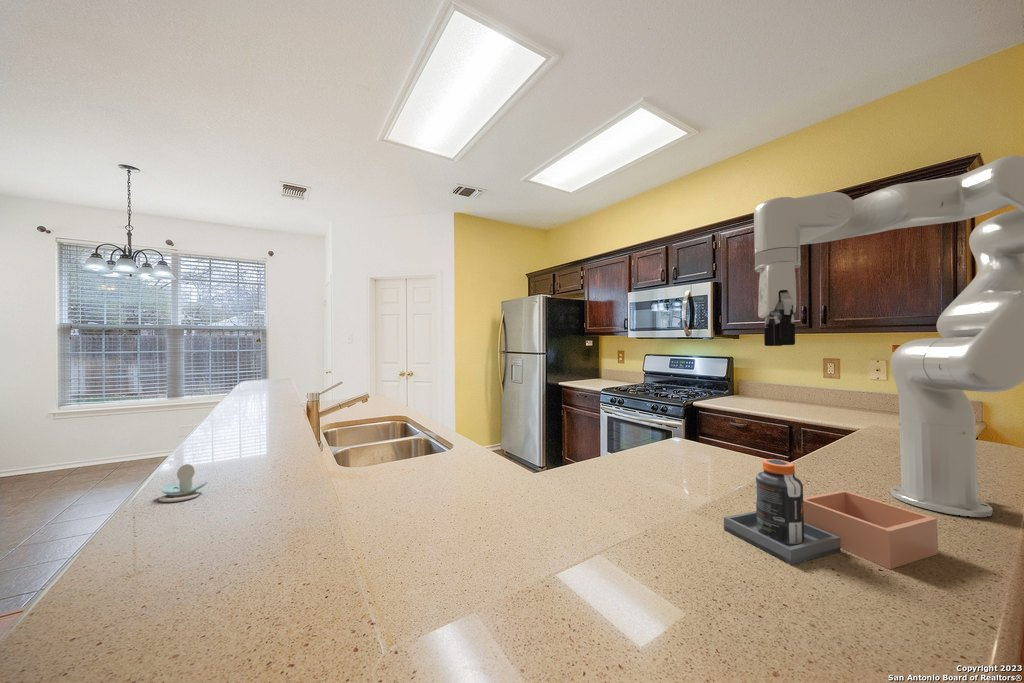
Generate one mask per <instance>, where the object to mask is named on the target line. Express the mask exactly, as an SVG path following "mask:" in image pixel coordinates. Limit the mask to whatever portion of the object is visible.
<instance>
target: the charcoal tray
mask: <svg viewBox="0 0 1024 683" xmlns="http://www.w3.org/2000/svg"><path fill="white" fill-rule="evenodd" d="M723 530H724V531H726V532H728V533H729V532H730V533H729V534H732V535H733V536H735V537H737V538H738V539H741V540H743V541H745V542H747V543H749V544H751V545H752V546H754V547H756V548H758V549H760V550H762V551H763V552H766V553H767V554H769V555H771V556H773V557H775V558H777V559H779V560H780V561H782V562H785V563H786V564H788V565H791V566H792V565H797V564H800V563H804V562H808V561H810V560H814V559H818V558H822V557H825V556H830V555H832V554H837V553H840V552H841V551H842V550H841V549H842V548H841V545H840V537H838V536H836V535H833V534H831V533H828V532H826V531H823V530H821V529H819V528H816V527H814V526H811V525H809V524H806V523H804V541H803V542H802V543H800V544H785V543H780V542H778V541H776V540H773V539H771V538H769V537H767V536H765V535H763V534H761V533H759V532H758V530H757V514H756V510H754V511H749V512H743V513H739V514H733V515H728V516H724V517H723Z"/></svg>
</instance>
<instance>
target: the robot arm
mask: <svg viewBox="0 0 1024 683" xmlns="http://www.w3.org/2000/svg"><path fill="white" fill-rule="evenodd" d="M1011 206H1013V207H1015V209H1012V210H1009V211H1006V212H1002V213H999V214H996V215H995V216H992V217H990V218H988V219H984V220H983V221H982V222H980V223H979V224H978V225H976V227H974V229H973V230H972V231H971V233H970V236H969V239H968V244H969V248H970V251H971V253H972V255H973V257H974V261H975V263H976V266H977V271H976V272H977V273H976V275H975V276H974V278H973V279H972V280H971V281H970V283H969V284H968V285H967V286H966V287H965V288H964V289H963V290H962V291H961V292H960V293H959V294H958V295H957V296H956V298H954V300H953V301H951V303H949V305H948V306H947V307H946V308H945V309H944V310H943V311H942V312H941V314H940V316H939V317H938V319H937V322H936V330H937V332H938V335H940V337H928V338H927V337H926V338H925V337H924V338H919V339H918V338H917V339H914V340H909V341H907V342H905V343H903V344H901V345H900V346H899V345H898V347H897V348H896V349H894V351H893V353H892V355H891V358H890V369H891V373H892V376H893V379H894V383H895V385H896V386H895V388H896V390H897V395H898V396H897V398H898V410H899V411H898V413H899V419H898V420H899V445H900V446H899V447H900V448H899V450H900V451H899V452H900V454H899V456H900V473H901V474H900V482H901V484H900V485H893V486H891V487H890V495H891V496H892V497H894V498H895V499H897V500H899V501H901V502H904V503H906V504H909V505H912V506H914V507H918V508H921V509H926V510H929V511H933V512H938V513H943V514H948V515H954V516H959V515H960V516H959V517H967V516H969V517H970V518H987V516H988V517H990V516H993V514H992V513H993V510H994V509H993V507H992V506H990V504H988V503H986V502H984V501H982V500H979V497H978V496H979V495H978V491H979V490H980V489H981V484H980V482H978V467H977V461H978V460H977V442H976V441H977V440H976V438H977V437H976V434H977V433H976V424H977V422H976V413H975V410H974V406H973V404H972V403H971V400H970V399H969V397H968V396H967V395H966V393H965V392H964V391H967V392H979V393H981V392H982V393H1000V392H1005V391H1009V390H1011V389H1015V387H1018V386H1019V385H1021V384H1022V383H1024V155H1016V154H1014V155H1008V156H1003V157H1000V158H998V159H995V160H992V161H991V162H988V163H986V164H984V165H981V166H978V167H977V168H975V169H973V170H970V171H968V172H965V173H962V174H960V175H955V176H950V177H949V176H948V177H942V178H936V179H929V180H928V179H927V180H921V181H920V180H919V181H912V182H903V183H897V184H894V185H890V186H886V187H884V188H880V189H878V190H875V191H873V192H871V193H868V194H866V195H863V196H860V197H857V198H855V199H852V198H851V197H850V196H849V195H848V194H846V193H843V192H838V191H826V192H820V193H815V194H810V195H804V196H800V197H799V196H798V197H791V196H782V197H775V198H770V199H767V200H765V201H763V202H760V204H758V205H757V206H756V207H755V209H754V211H753V234H754V235H753V236H754V239H753V240H754V241H753V242H754V243H753V244H754V272H756V273H759V280H758V306H757V307H758V308H757V310H758V312H757V316H758V317H759V318H760V319H764V327H763V338H764V339H763V340H764V342H763V343H764V346H765V347H782V346H794V345H795V344H796V325H795V324H796V323H795V316H794V313H796V310H797V283H796V282H797V281H796V269H798V268H800V267H801V245H803V246H804V245H812V244H821V243H828V242H833V241H838V240H839V241H840V240H844V239H848V238H854V237H860V236H861V237H862V236H866V235H873V234H878V233H883V232H887V231H893V230H899V229H907V228H912V227H914V228H915V227H922V226H931V225H938V224H939V225H940V224H947V223H954V222H961V221H965V220H966V221H967V220H969V219H972V218H976V217H979V216H982V215H986V214H988V213H991V212H995V211H998V210H1001V209H1003V208H1004V209H1005V208H1007V207H1011Z"/></svg>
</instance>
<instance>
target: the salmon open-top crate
mask: <svg viewBox="0 0 1024 683" xmlns="http://www.w3.org/2000/svg"><path fill="white" fill-rule="evenodd" d="M803 511H804V523H806V524H809V525H811V526H814V527H816V528H819V529H821V530H823V531H826V532H828V533H831V534H833V535H836V536H838V537H840V545H841V549H842V550H845V551H847V552H848V553H851V554H854V555H856V556H859V557H861V558H863V559H866V560H868V561H870V562H872V563H875V564H877V565H879V566H882V567H883V568H886V569H889V570H893V569H895V568H898V567H902V566H904V565H908V564H912V563H915V562H917V561H920V560H922V559H923V560H924V559H926V558H929V557H933V556H936V555H939V541H938V540H939V537H938V532H939V531H938V518H936V517H933V516H930V515H927V514H925V513H920V512H917V511H913V510H911V509H906V508H904V507H900V506H898V505H894V504H890V503H887V502H884V501H880V500H877V499H873V498H870V497H868V496H863V495H860V494H857V493H854V492H851V491H848V490H844V489H841V490H836V491H832V492H826V493H821V494H815V495H810V496H806V497H805V496H803Z"/></svg>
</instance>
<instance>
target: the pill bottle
mask: <svg viewBox="0 0 1024 683" xmlns="http://www.w3.org/2000/svg"><path fill="white" fill-rule="evenodd" d="M795 469H796V468H795V464H793V463H792V462H789V461H786V460H782V459H773V458H765V459H763V460H762V470H763V471H760V472H758V473H757V474H756V476H755V504H756V506H755V507H756V510H755V511H756V514H757V530H758V532H759V533H761V534H763V535H765V536H767V537H769V538H771V539H773V540H776V541H778V542H780V543H785V544H800V543H802V542H803V541H804V511H803V498H804V486H803V483H802V481H801V480H800V479H799V478H797V477H796V476H795V473H796V470H795Z"/></svg>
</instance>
